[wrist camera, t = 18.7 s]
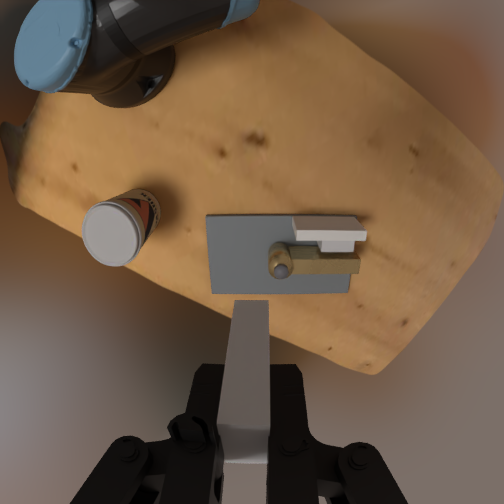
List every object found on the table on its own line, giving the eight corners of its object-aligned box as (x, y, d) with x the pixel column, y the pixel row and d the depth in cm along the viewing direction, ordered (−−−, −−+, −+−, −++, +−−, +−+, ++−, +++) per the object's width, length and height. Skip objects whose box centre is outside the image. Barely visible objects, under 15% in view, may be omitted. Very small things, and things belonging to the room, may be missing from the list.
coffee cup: (175, 225, 48) (151, 255, 37) (131, 244, 50) (100, 276, 39) (150, 174, 45) (118, 191, 34) (107, 198, 47) (69, 220, 36)
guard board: (206, 214, 48) (195, 233, 40) (355, 215, 47) (372, 233, 39) (212, 290, 53) (204, 318, 46) (346, 289, 52) (358, 316, 45)
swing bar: (267, 263, 49) (268, 279, 44) (267, 242, 47) (268, 257, 42) (349, 262, 48) (358, 278, 43) (352, 242, 47) (362, 257, 42)
